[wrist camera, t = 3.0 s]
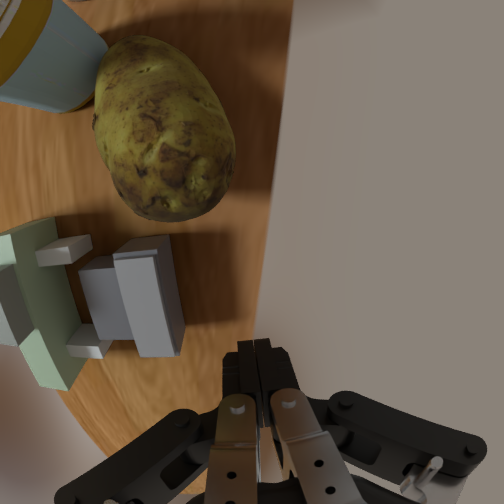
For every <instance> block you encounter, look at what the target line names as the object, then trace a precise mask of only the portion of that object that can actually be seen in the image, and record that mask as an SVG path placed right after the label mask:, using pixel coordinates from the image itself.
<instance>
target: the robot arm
mask: <svg viewBox="0 0 504 504" xmlns="http://www.w3.org/2000/svg"><path fill="white" fill-rule="evenodd" d="M70 1H85V0H70ZM237 345H238V352H228V353H227V354H226V355H225V357H224V358H223V372H222V374H223V375H222V392H223V397H222V401H221V402H220V404H219V406H218V407H217V408H215V409H214V410H212V411H210V412H207V413H203V414H200V415H198V414H197V413H196V412H195V411H193V410H190V409H178V410H175V411H172V412H171V413H169V414H168V415H167V416H165V417H164V418H163V419H161V420H160V421H159V422H158V423H156V424H155V425H154V426H152V427H151V428H150V429H148V430H147V431H146V432H144V433H143V434H141V435H140V436H139V437H137V438H136V439H135V440H133V441H132V442H130V443H129V444H128V445H126V446H125V447H123V448H122V449H120V450H119V451H118V452H116V453H115V454H113V455H112V456H110V457H109V458H107V459H106V460H104V461H103V462H102V463H100V464H98V465H97V466H95V467H94V468H92V469H91V470H89V471H87V472H86V473H84V474H83V475H81V476H80V477H78V478H77V479H75V480H73V481H71V482H70V483H68V484H67V485H65V486H63V487H61V488H60V489H59V490H58V491H57V492H56V494H55V497H54V503H55V504H167V503H168V502H170V501H171V500H172V499H173V498H174V497H176V496H177V495H178V494H179V493H180V492H181V491H182V490H184V489H185V488H186V487H187V486H188V485H189V484H190V483H191V482H193V481H194V480H195V479H196V478H197V477H198V476H199V475H200V474H201V473H202V472H203V471H204V470H205V469H206V468H207V467H208V471H207V480H206V488H205V492H203V493H201V494H199V495H197V496H196V497H194V498H192V499H191V500H190V501H189V502H187V503H186V504H456V502H457V500H458V498H459V496H460V493H461V491H462V489H463V487H464V484H465V482H466V479H467V477H468V475H469V474H470V473H471V472H472V471H473V470H474V469H475V468H476V467H477V466H478V465H479V464H480V463H481V461H482V460H483V459H484V457H485V456H486V453H487V445H486V443H485V441H484V440H483V439H482V438H480V437H478V436H476V435H472V434H468V433H465V432H462V431H458V430H454V429H452V428H449V427H445V426H442V425H439V424H436V423H433V422H430V421H427V420H424V419H421V418H419V417H416V416H413V415H410V414H408V413H405V412H402V411H399V410H397V409H394V408H391V407H389V406H387V405H384V404H382V403H379V402H377V401H374V400H372V399H369V398H367V397H365V396H362V395H360V394H358V393H355V392H352V391H340V392H337V393H335V394H333V395H332V396H331V397H330V399H329V400H320V399H313V398H310V397H307V396H306V395H305V394H304V393H303V392H302V391H301V390H300V388H299V385H298V382H297V379H296V376H295V373H294V370H293V367H292V364H291V362H290V358H289V355H288V352H286V351H285V350H284V349H283V348H282V347H278V348H272V347H271V344H270V339H269V338H266V339H256V340H254V346H253V340H246V341H237ZM254 351H255V352H254ZM262 411H263V414H262ZM263 418H264V423H265V427H271V433H272V443H273V446H274V450H275V453H276V457H277V460H278V463H279V467H280V470H281V473H282V478H283V481H282V482H279V483H264V482H261V476H260V475H261V474H260V447H259V440H260V428H263ZM343 460H344V461H346V462H348V463H350V464H352V465H354V466H356V467H358V468H360V469H362V470H365V471H367V472H369V473H371V474H373V475H376V476H378V477H380V478H382V479H385V480H388V481H390V482H392V483H394V484H397V485H400V491H401V494H402V495H403V496H401V495H399V494H397V493H394V492H392V491H390V490H388V489H385V488H383V487H381V486H379V485H377V484H375V483H373V482H371V481H369V480H367V479H365V478H363V477H360V476H357V475H353V474H350V473H349V471H348V469H347V467H346V465H345V463H344V461H343Z"/></svg>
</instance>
